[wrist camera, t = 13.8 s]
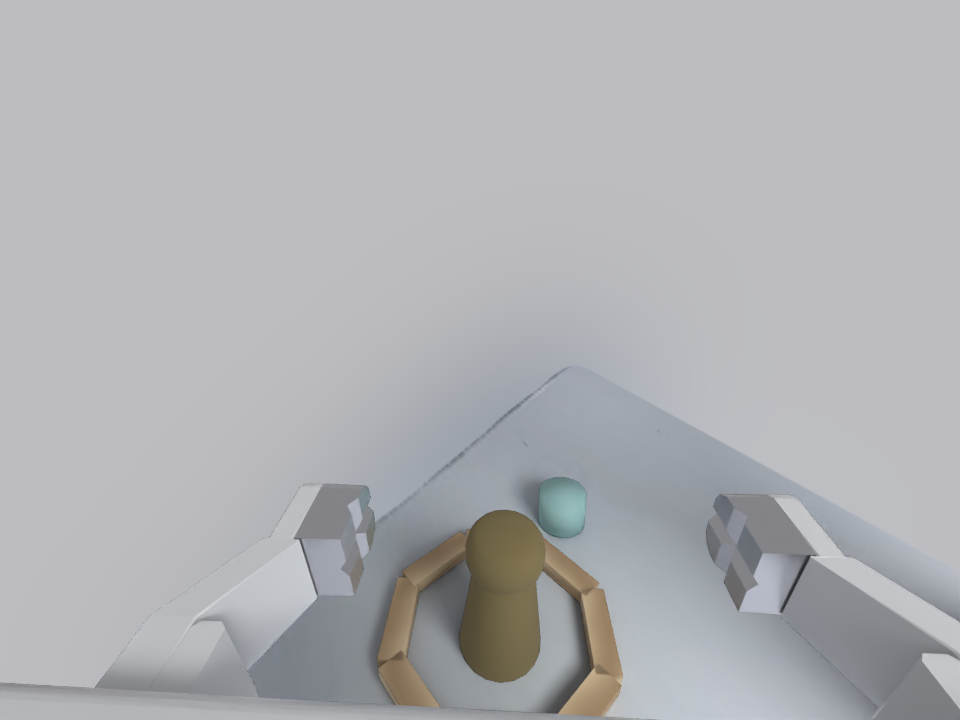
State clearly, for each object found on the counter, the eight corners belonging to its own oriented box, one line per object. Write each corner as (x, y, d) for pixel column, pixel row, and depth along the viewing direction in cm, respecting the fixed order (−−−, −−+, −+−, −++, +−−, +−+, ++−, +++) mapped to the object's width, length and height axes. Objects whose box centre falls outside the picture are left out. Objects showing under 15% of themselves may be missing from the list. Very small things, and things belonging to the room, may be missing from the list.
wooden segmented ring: (589, 545, 39) (591, 536, 38) (642, 789, 24) (646, 780, 23) (411, 535, 39) (410, 526, 39) (354, 767, 24) (352, 757, 24)
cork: (476, 588, 35) (478, 486, 30) (548, 613, 33) (562, 509, 28) (446, 662, 30) (442, 554, 25) (529, 697, 28) (543, 587, 23)
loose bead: (544, 500, 44) (545, 473, 42) (587, 510, 42) (590, 482, 41) (533, 530, 40) (534, 501, 39) (579, 543, 38) (582, 513, 37)
